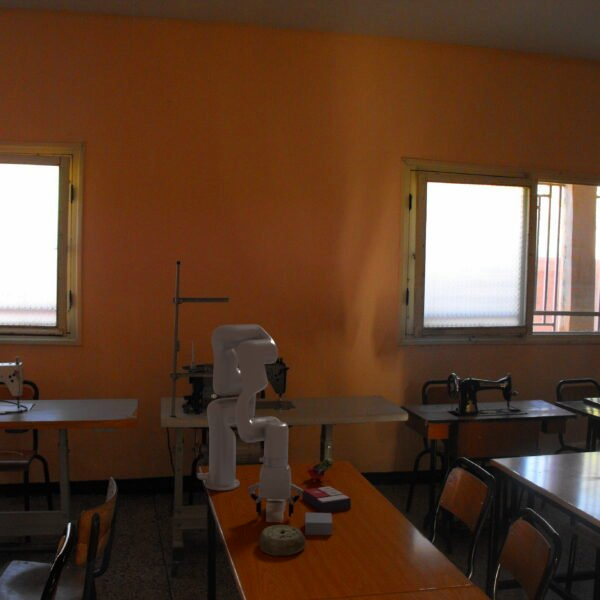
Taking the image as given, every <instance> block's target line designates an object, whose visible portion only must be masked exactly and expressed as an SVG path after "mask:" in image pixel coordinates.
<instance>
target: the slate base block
mask: <svg viewBox="0 0 600 600" xmlns="http://www.w3.org/2000/svg"><path fill="white" fill-rule="evenodd" d="M304 516H305V518H304V519H305V520H304V521H305V522H304V529H305V533H304V536H306V535H308V536H333V520H332V519H333V516H332V512H328V513H321V512H305V514H304Z"/></svg>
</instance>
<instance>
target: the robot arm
mask: <svg viewBox="0 0 600 600" xmlns="http://www.w3.org/2000/svg"><path fill="white" fill-rule="evenodd" d="M210 340H211V347H212V352H213V369H212V370H213V371H212V372H213V374H212V377H213V378H212V388H213V392H214V394H215V395H217V396H222V397H223V396H225V397H223V398H217V399H213V400H212V401H210V402H209V403H208V405H207V408H206V416H207V423H208V428H209V429H208V431H209V434H208V435H209V436H208V439H209V440H208V441H209V447H208V448H209V449H208V452H209V453H208V472H207V471H206V472H205V473H203V472H197V473H196V474H197V475H196V479H198V480H199V481H200V480H201V481H204V487H205V488H206V489H209V490H211V491H212V490H213V491H217V492H218V491H223V492H224V491H232V490H234V489H238V487H240V481H239V479H238V478H236V464H237V463H236V461H237V457H236V454H237V453H236V452H237V451H236V450H237V448H236V445H237V442H236V440H237V438H236V433H235V432H234V430H233V429H232V428H231V426H232V425H236V429H237V432H238V436H239V438H240V439H241V441H242V442H244V443H247V444H249V443H256V442H264V444H263V447H264V448H263V456H262V457H261V456H259V459H258V460H259V462H261V463H263V464H261V467H260V472H259V482H257V483H254V484H253V485H250V486H249V487H248V488H247V491H248V493H249V494H250V498H252V500H254V501H255V502H254V503H255V505H256V507H255V511H256V513H257V517H258V516H261V515H262V508H263V507H262V504H263V503H262V499H264V500H268V499H282V500H285V499H286V500H287V501H288V517H289V518H291V517H292V515H293V514H294V511H295V510H294V505H295V503H296V502H297V501H298V500H299V499H300V497H301V495H302V492H303V491H304V489H303V488H301V487H299V486H297V485H295V484H293V483H292V473H291V471H292V470H291V467H290V465H289V464H288V463H289V425H288V424H287V423H286V422H283V421H281V420H280V419H279V418H277V417H275V416H271V415H270V416H269V415H268V416H263V417H262V416H261V417H255V412H256V400H257V398H256V397H257V394H258V393H259V392H262V391H263V390H265V389H266V388H267V387H268V385H269V380H268V376H267V370H266V366H265V365H269V364H275V363H276V362H277V361H278V358H279V348H278V346H277V344H276V342H275V340H274V339H273V338H272V336H270V334H269V333H268V332H267V331H266V330H265V329H264V328H263V327H262V326H261V325H259V324H255V323H254V324H253V323H249V324H247V323H246V324H245V323H243V324H226V325H225V324H224V325H219V326H218V327H215V328H214V330H213V331H212V334H211V339H210ZM236 395H238V396H236ZM227 396H235V397H227ZM256 489H258V495H257V493H255V490H256ZM292 490H293V491H295V492H296V494H295V495H294V496H293V495H292Z"/></svg>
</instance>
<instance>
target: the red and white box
mask: <svg viewBox="0 0 600 600" xmlns="http://www.w3.org/2000/svg"><path fill="white" fill-rule="evenodd" d="M301 495H302V498H303V499H304V500H303V499H302V500H303V501H305V502H306V501H307V502H308V503H307V502H306V503H307V504H309V503H310V504H311V505H310V504H309V505H310V506H311V507H313V508H315V509H316V510H317V511H318V512H319V511H320V512H319V513H325V512H326V513H327V512H328V513H334V512H340V511H339V510H341V511H346V509H347V510H351V509H352V498H351V497H349V496H347V495H345V494H344V493H342V492H341V491H339V490H337V489H336V488H333V487H331V486H324V487H323V486H322V487H318V488H308V489H303V492H302V494H301ZM333 511H334V512H333Z"/></svg>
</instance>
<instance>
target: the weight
mask: <svg viewBox="0 0 600 600" xmlns="http://www.w3.org/2000/svg"><path fill="white" fill-rule="evenodd" d="M306 544H307V543H306V537H305V534H303V532H302V530H300V529H299V528H298V527H295V526H291V525H287V524H275V525H270V526H267V527H265V528H264V529H263V530H262V531H261V532H260V535H259V539H258V545H259V549H260V551H261V552H263V553H265V554H267V555H269V556H274V557H279V556H284V557H285V556H286V557H287V556H291V555H294V554H295V555H296V554H297V553H299V552H302V551H303V550H304V549H305V547H306Z"/></svg>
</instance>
